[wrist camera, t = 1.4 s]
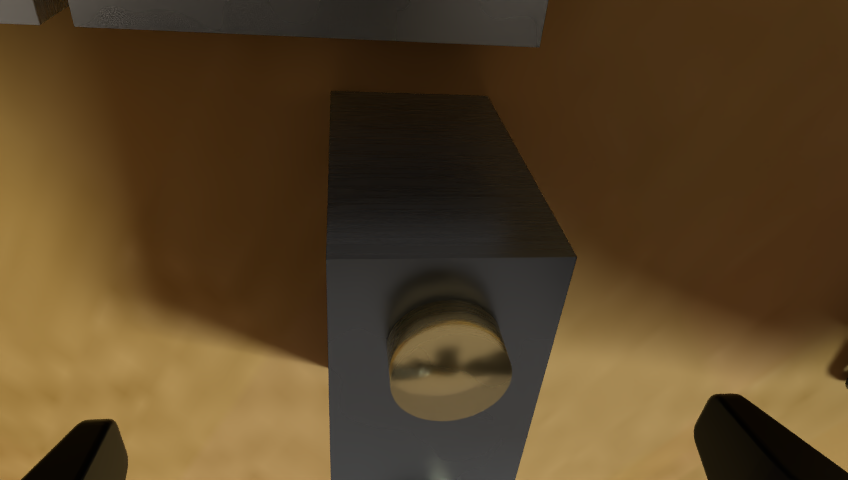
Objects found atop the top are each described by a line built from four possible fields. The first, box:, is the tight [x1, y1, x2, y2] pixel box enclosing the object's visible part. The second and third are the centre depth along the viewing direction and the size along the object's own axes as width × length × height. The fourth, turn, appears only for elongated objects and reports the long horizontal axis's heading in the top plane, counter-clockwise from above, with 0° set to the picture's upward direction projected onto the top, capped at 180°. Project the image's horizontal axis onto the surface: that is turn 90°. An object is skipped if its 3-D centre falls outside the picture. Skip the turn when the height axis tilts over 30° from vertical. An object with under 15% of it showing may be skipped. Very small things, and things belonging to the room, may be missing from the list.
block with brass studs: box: [326, 91, 577, 480], centre depth 10 cm, size 7×3×6 cm, turn 176°
